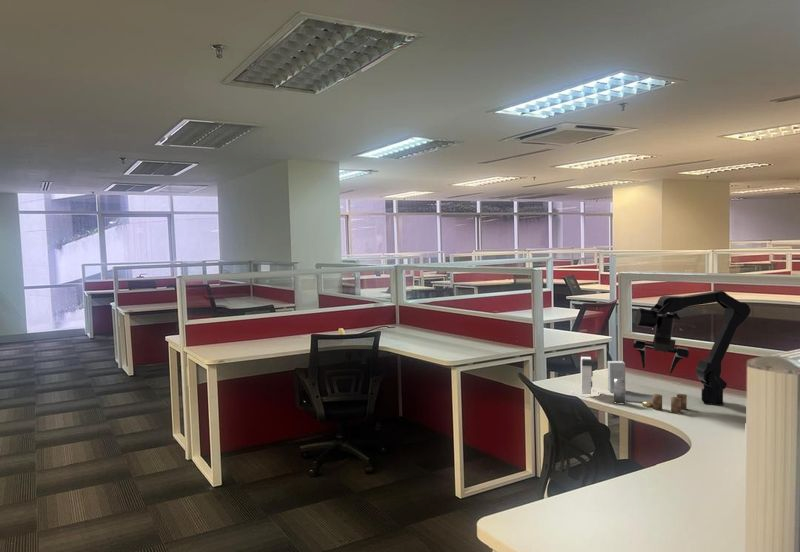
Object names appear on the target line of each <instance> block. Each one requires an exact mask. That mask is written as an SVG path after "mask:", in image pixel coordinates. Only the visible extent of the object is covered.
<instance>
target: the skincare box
mask: <svg viewBox="0 0 800 552" xmlns="http://www.w3.org/2000/svg"><path fill="white" fill-rule="evenodd" d="M614 378H624V379H625V380H626V363H625V362H624V361H623V360H607V391H609V392H610V393H614Z"/></svg>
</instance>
